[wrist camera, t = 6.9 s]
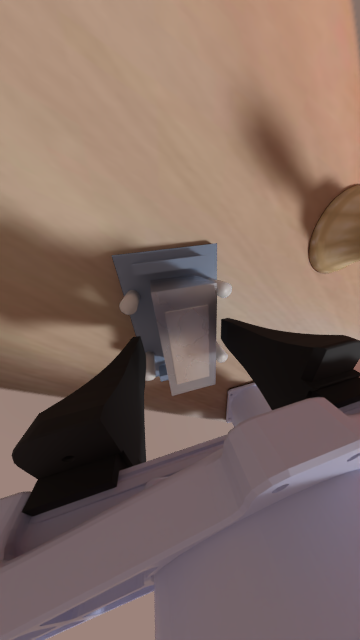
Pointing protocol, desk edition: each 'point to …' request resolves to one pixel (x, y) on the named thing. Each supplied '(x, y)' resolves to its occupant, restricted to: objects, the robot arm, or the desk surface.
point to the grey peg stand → (138, 299)
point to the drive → (187, 330)
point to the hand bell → (337, 234)
